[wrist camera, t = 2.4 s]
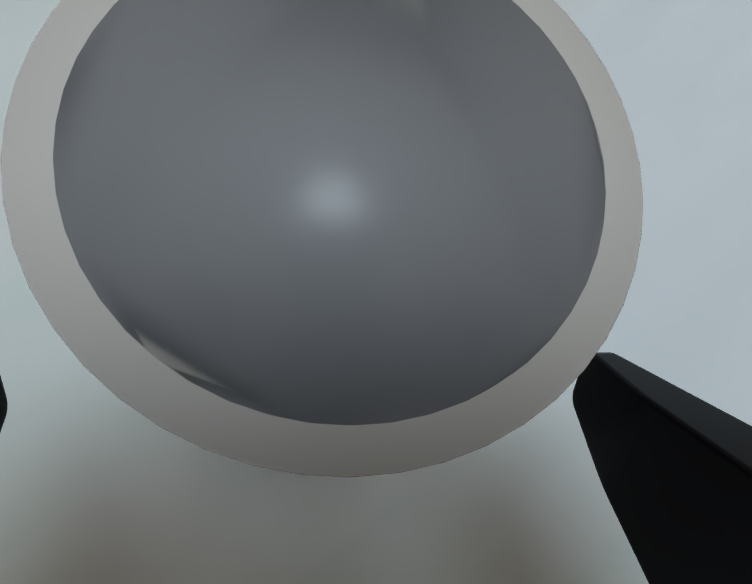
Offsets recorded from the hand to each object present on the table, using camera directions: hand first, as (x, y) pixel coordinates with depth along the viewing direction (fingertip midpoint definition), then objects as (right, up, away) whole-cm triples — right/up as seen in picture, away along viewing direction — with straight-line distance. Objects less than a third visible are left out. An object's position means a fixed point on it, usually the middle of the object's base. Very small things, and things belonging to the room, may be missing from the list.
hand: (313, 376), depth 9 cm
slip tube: (-2, -1, +9) cm, 9 cm away
